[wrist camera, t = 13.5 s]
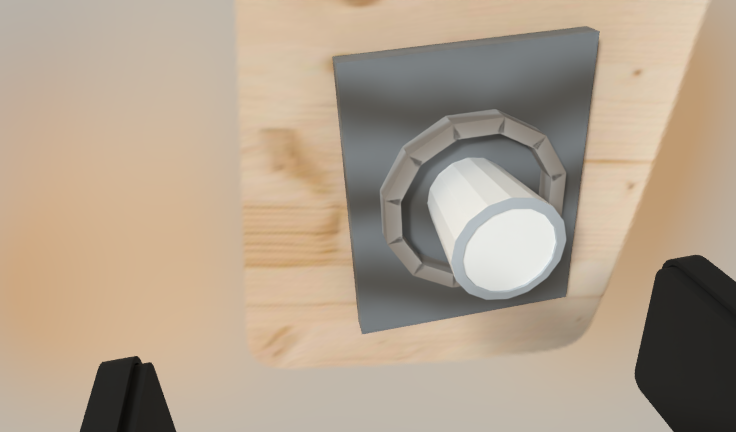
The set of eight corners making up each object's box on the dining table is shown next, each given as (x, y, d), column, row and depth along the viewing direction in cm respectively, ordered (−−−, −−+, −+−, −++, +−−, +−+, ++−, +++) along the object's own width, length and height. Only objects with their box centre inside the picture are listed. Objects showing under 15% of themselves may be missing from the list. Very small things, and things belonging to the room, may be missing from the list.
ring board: (332, 56, 34) (340, 70, 31) (586, 26, 36) (613, 36, 34) (358, 321, 44) (366, 348, 41) (556, 285, 46) (575, 308, 44)
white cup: (533, 160, 38) (588, 210, 32) (493, 247, 41) (536, 308, 35) (439, 137, 36) (479, 186, 30) (404, 231, 39) (434, 293, 33)
